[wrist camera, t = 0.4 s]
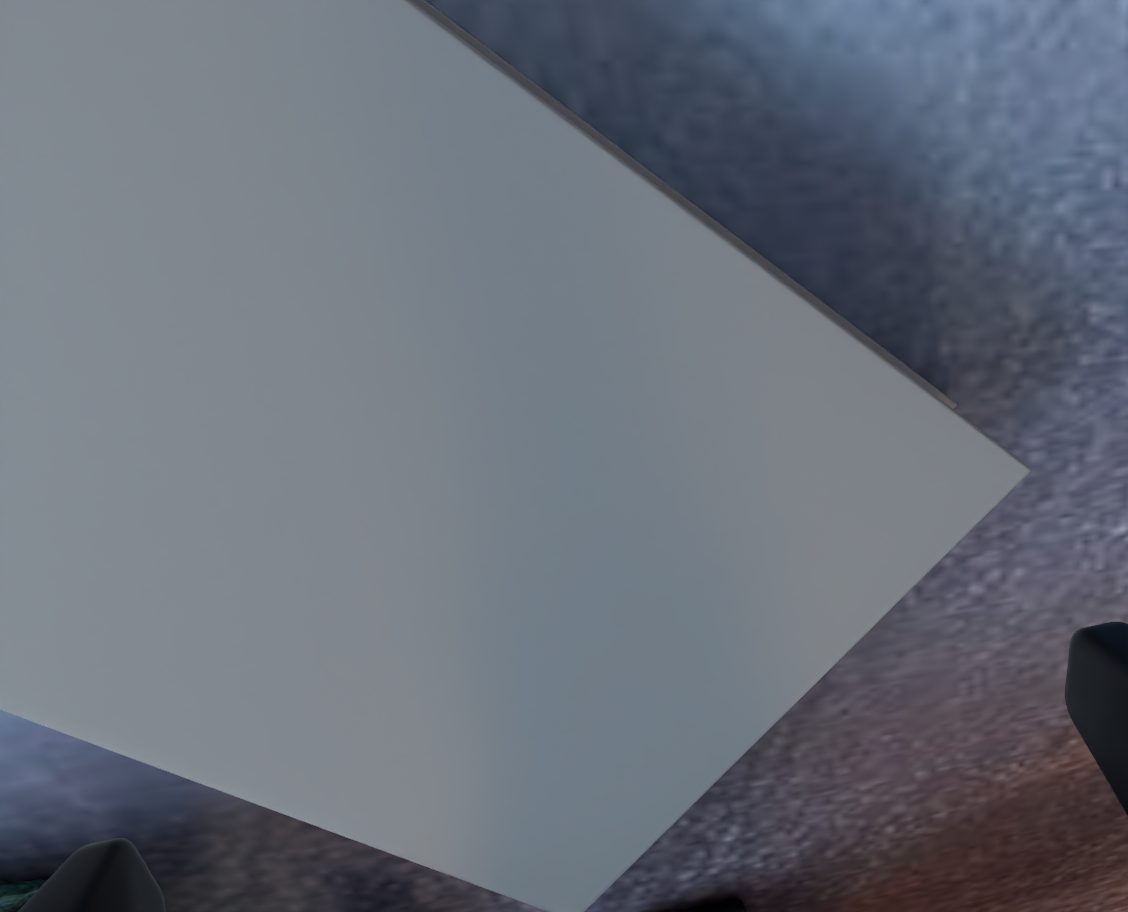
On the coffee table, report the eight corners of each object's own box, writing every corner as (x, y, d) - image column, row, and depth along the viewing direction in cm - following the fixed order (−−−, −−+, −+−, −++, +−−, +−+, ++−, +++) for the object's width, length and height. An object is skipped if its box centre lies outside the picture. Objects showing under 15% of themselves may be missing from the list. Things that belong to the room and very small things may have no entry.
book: (-149, -421, 12) (1033, 470, 20) (-16, -335, 15) (949, 398, 24) (-466, 586, 18) (552, 945, 26) (-320, 486, 21) (540, 833, 29)
